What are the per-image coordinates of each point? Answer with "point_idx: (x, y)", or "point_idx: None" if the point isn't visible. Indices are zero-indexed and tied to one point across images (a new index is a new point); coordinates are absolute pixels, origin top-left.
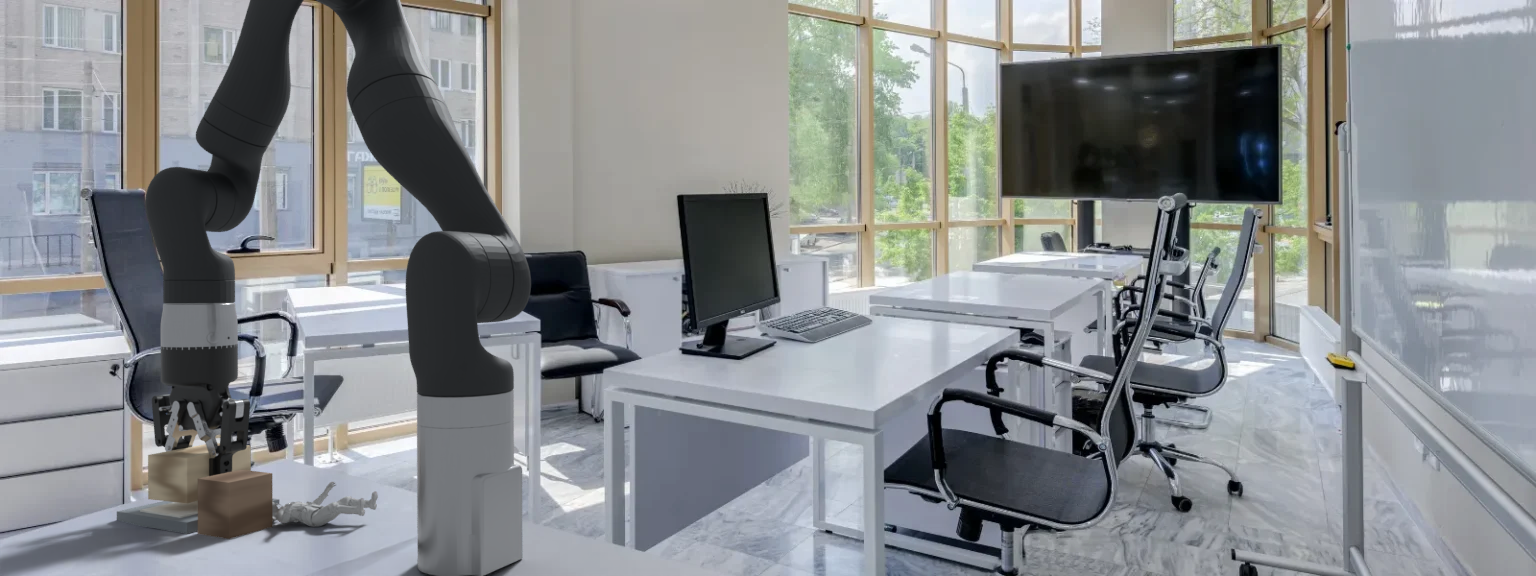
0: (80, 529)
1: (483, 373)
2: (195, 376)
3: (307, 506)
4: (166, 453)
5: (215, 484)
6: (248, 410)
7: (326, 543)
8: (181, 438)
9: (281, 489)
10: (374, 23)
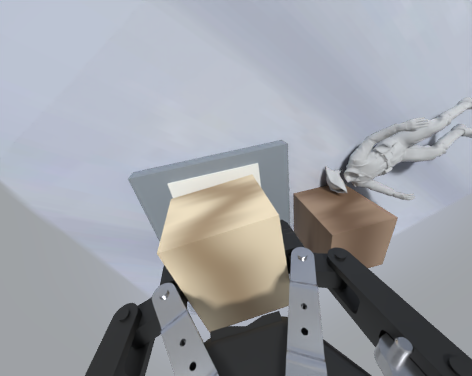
0: None
1: None
2: None
3: (391, 163)
4: (220, 317)
5: None
6: (444, 339)
7: (430, 177)
8: (156, 317)
9: (126, 47)
10: None
